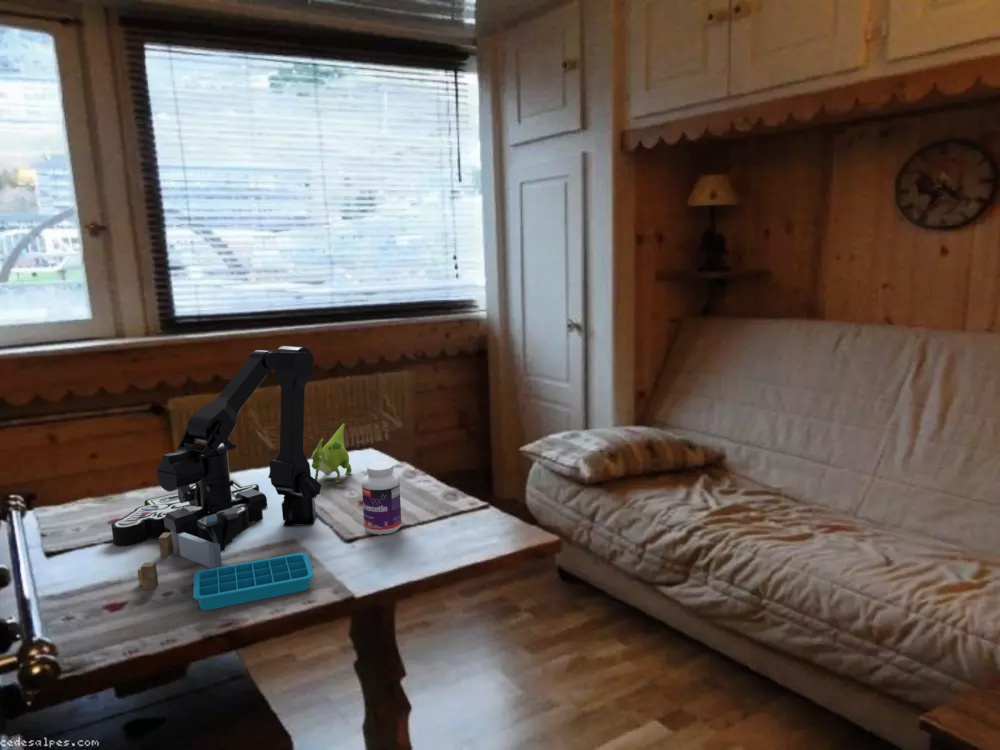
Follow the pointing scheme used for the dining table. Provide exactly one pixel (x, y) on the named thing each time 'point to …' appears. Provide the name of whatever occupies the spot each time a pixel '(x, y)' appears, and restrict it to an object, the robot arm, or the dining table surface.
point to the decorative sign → (152, 515)
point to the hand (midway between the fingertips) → (221, 550)
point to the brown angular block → (165, 544)
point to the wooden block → (148, 576)
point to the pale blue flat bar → (196, 549)
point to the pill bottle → (381, 499)
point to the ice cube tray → (252, 580)
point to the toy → (331, 455)
